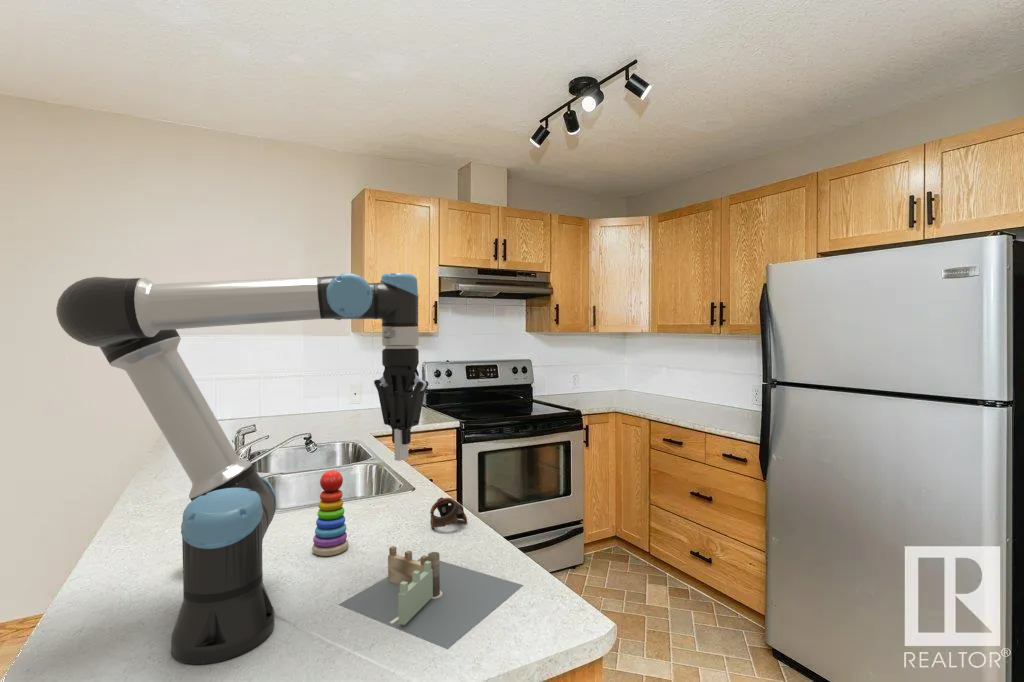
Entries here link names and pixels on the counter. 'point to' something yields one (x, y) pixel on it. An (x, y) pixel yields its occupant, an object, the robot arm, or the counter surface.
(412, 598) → the folding panel
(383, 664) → the counter surface
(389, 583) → the board
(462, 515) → the brown jagged ring
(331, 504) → the stacking toy
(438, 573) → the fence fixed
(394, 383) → the robot arm
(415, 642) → the counter surface
